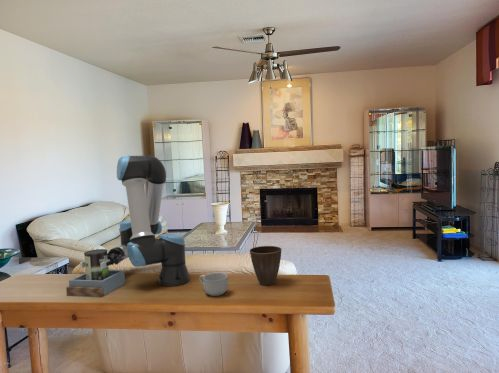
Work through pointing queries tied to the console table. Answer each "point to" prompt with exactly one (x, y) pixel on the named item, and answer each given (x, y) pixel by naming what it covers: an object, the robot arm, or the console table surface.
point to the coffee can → (96, 264)
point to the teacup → (215, 283)
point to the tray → (108, 284)
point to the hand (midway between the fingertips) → (90, 265)
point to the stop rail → (85, 291)
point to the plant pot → (266, 263)
